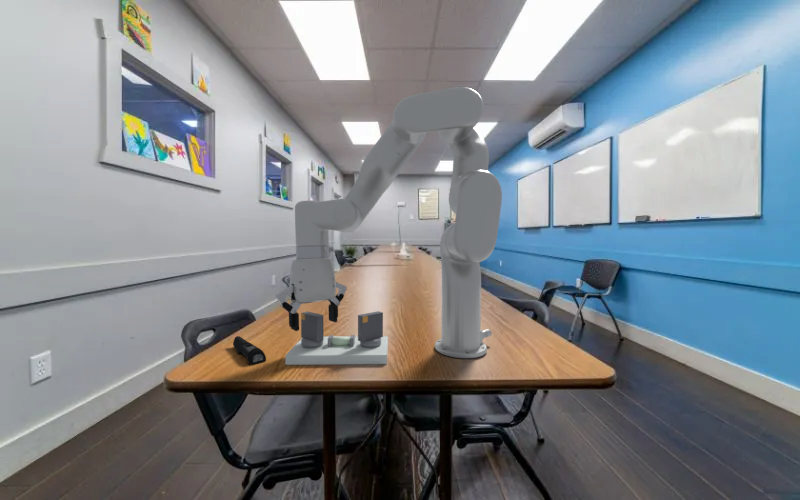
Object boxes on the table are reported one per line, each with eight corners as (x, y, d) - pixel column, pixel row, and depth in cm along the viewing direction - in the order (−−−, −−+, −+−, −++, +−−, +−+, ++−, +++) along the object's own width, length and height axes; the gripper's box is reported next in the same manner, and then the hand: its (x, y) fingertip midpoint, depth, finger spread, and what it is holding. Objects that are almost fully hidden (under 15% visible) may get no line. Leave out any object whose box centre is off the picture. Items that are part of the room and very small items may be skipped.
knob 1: (328, 343, 71) (328, 313, 71) (311, 349, 67) (311, 317, 67) (312, 338, 74) (312, 310, 74) (295, 344, 70) (295, 314, 70)
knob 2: (374, 338, 75) (374, 310, 75) (386, 343, 71) (386, 313, 71) (354, 343, 71) (354, 313, 71) (366, 349, 67) (366, 317, 67)
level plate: (387, 343, 78) (387, 328, 78) (386, 364, 65) (386, 345, 65) (303, 344, 77) (303, 328, 77) (285, 364, 64) (285, 346, 64)
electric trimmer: (245, 345, 77) (245, 333, 77) (267, 362, 66) (267, 348, 66) (229, 349, 75) (229, 336, 75) (249, 367, 63) (249, 352, 63)
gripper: (337, 252, 79) (338, 316, 79) (269, 255, 67) (272, 329, 68) (352, 252, 73) (354, 321, 74) (281, 255, 62) (284, 337, 62)
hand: (314, 325), depth 71 cm, fingers open, 9 cm apart
